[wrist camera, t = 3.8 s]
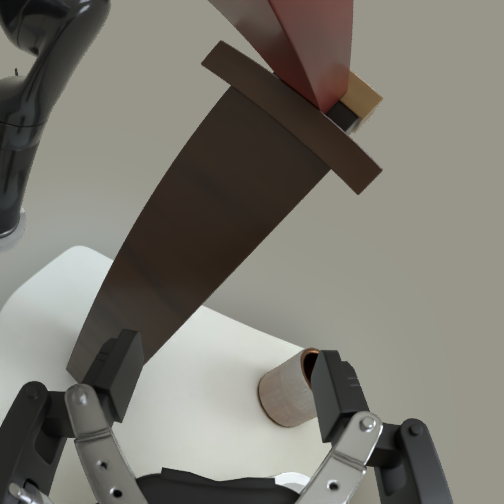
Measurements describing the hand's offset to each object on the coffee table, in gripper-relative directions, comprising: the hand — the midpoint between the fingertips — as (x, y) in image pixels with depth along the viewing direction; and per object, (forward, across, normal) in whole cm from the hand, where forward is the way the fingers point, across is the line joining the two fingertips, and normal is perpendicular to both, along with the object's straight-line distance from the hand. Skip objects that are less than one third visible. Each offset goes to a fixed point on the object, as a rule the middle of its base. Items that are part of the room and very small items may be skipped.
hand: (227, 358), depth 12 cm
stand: (+11, +15, +17) cm, 25 cm away
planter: (+22, -10, +30) cm, 39 cm away
